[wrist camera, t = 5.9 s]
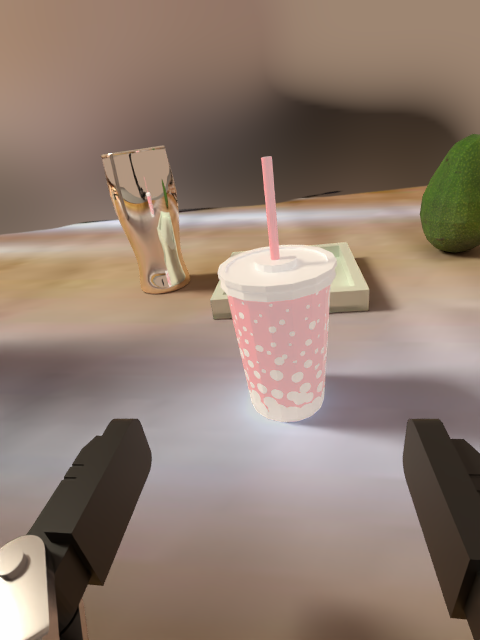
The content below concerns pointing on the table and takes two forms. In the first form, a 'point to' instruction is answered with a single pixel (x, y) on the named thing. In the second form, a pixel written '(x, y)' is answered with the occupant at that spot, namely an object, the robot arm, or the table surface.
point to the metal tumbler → (148, 215)
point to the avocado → (454, 199)
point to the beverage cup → (281, 318)
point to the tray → (344, 290)
